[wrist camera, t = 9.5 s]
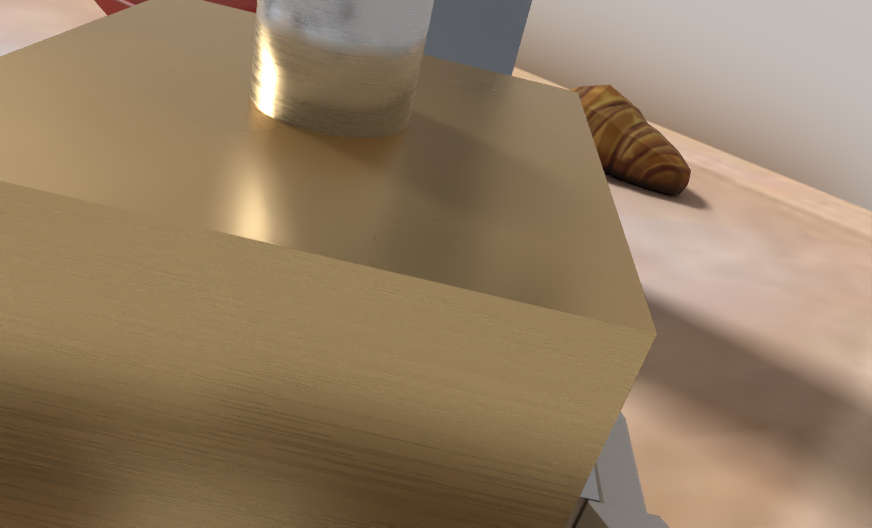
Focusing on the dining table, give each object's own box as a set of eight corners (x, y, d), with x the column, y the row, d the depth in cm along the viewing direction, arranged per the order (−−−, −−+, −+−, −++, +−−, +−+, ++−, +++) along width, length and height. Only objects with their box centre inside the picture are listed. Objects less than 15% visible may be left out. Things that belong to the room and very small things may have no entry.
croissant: (472, 127, 46) (491, 52, 43) (526, 114, 51) (546, 46, 48) (657, 216, 40) (691, 135, 37) (698, 191, 45) (731, 118, 42)
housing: (370, 933, 9) (775, 86, 3) (-10, 858, 9) (-286, -176, 3) (413, 588, 13) (621, -39, 8) (157, 533, 13) (172, -154, 7)
